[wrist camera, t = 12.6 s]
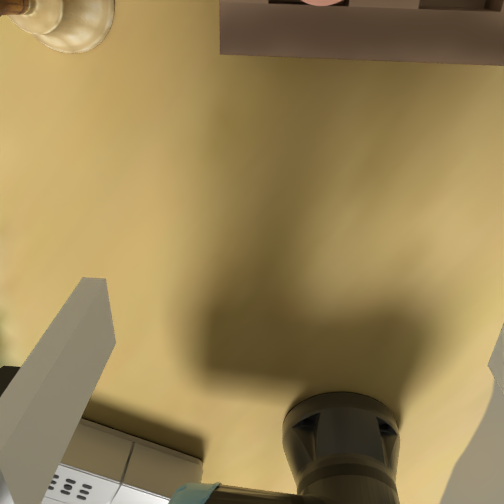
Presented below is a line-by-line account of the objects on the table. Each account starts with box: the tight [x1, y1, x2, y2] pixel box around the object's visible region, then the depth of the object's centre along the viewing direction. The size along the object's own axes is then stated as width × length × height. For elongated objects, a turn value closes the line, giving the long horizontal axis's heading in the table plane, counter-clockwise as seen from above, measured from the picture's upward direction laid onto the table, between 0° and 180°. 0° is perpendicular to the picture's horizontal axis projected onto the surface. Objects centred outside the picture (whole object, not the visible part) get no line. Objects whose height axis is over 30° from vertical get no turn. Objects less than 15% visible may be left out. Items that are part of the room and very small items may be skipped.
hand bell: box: [0, 0, 114, 54], centre depth 29 cm, size 8×8×16 cm
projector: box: [41, 418, 203, 504], centre depth 66 cm, size 17×22×8 cm
